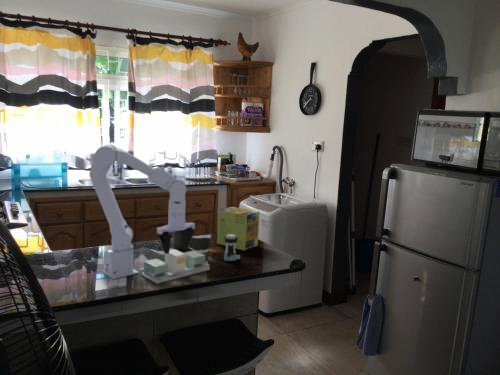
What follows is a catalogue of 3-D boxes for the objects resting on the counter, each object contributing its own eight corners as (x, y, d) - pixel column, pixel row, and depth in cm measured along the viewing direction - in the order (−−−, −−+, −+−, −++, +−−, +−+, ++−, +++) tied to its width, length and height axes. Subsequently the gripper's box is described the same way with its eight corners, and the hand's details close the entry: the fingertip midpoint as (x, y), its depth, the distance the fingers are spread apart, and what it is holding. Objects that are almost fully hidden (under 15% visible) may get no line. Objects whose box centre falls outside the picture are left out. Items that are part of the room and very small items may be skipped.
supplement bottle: (182, 245, 179) (183, 218, 177) (192, 249, 174) (193, 221, 172) (169, 248, 175) (169, 220, 173) (178, 252, 170) (178, 223, 168)
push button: (238, 257, 167) (239, 233, 166) (241, 261, 162) (242, 236, 161) (222, 258, 166) (223, 233, 164) (224, 262, 160) (225, 237, 159)
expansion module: (176, 273, 144) (176, 256, 143) (164, 267, 149) (164, 251, 148) (185, 270, 147) (186, 254, 146) (173, 265, 152) (174, 249, 151)
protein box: (245, 251, 176) (247, 215, 174) (216, 243, 185) (217, 209, 182) (258, 245, 185) (260, 211, 183) (230, 239, 193) (231, 206, 191)
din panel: (156, 283, 136) (157, 269, 136) (139, 274, 144) (139, 260, 143) (209, 269, 152) (209, 256, 151) (191, 261, 159) (191, 249, 159)
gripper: (165, 217, 137) (164, 257, 139) (200, 213, 147) (199, 250, 149) (153, 213, 142) (153, 252, 144) (188, 209, 152) (187, 245, 154)
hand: (175, 251), depth 147 cm, fingers open, 7 cm apart
